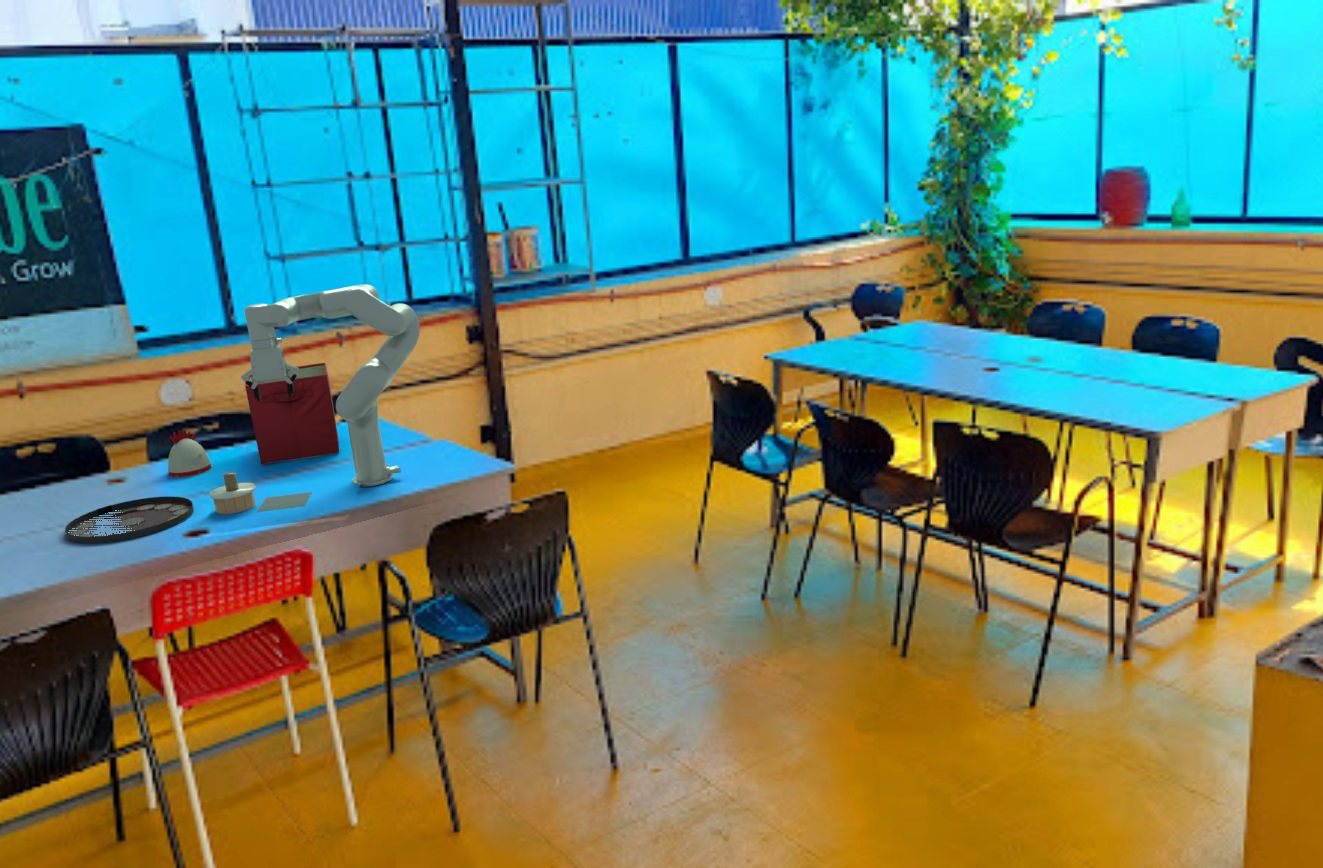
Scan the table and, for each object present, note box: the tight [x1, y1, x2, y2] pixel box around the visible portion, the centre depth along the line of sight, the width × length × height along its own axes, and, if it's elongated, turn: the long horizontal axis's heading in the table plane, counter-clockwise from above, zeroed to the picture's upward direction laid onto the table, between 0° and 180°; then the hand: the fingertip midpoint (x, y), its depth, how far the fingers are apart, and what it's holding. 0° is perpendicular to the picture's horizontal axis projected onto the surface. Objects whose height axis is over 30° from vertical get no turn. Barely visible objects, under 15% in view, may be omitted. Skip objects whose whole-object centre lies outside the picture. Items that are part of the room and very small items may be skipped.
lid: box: [209, 471, 257, 499], centre depth 330 cm, size 13×13×6 cm
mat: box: [256, 491, 313, 513], centre depth 334 cm, size 14×14×1 cm
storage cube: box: [244, 362, 340, 466], centre depth 392 cm, size 32×28×29 cm
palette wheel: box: [64, 496, 195, 544], centre depth 331 cm, size 35×35×3 cm
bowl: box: [212, 491, 256, 515], centre depth 332 cm, size 11×11×6 cm
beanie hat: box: [167, 429, 212, 478], centre depth 381 cm, size 14×14×15 cm
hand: (275, 398), depth 343 cm, fingers open, 9 cm apart
